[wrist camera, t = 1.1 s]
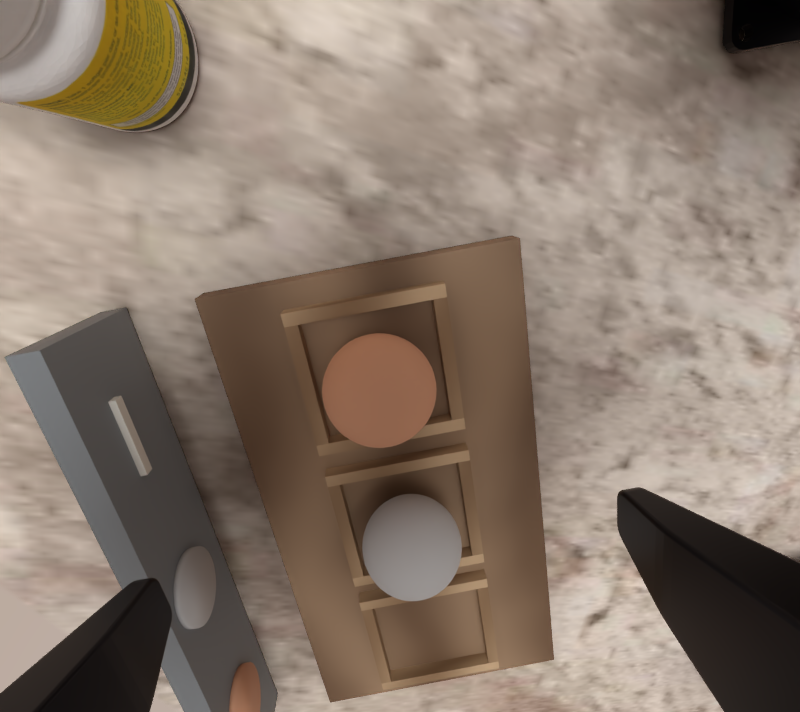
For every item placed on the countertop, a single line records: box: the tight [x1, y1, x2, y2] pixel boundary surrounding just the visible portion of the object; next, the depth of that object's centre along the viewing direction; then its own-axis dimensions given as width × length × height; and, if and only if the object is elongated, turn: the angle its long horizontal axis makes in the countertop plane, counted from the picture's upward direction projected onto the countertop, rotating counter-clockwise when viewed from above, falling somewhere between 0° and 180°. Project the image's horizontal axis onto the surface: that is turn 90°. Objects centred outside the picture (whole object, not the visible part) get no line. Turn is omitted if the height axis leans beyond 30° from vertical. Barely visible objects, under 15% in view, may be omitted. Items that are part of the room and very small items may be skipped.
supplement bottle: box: [0, 0, 198, 132], centre depth 11 cm, size 5×5×8 cm
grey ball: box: [362, 494, 462, 601], centre depth 19 cm, size 4×4×4 cm
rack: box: [195, 236, 554, 702], centre depth 21 cm, size 12×22×2 cm, turn 10°
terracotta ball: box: [322, 333, 437, 448], centre depth 16 cm, size 4×4×4 cm
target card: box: [5, 308, 278, 712], centre depth 19 cm, size 1×22×5 cm, turn 10°
